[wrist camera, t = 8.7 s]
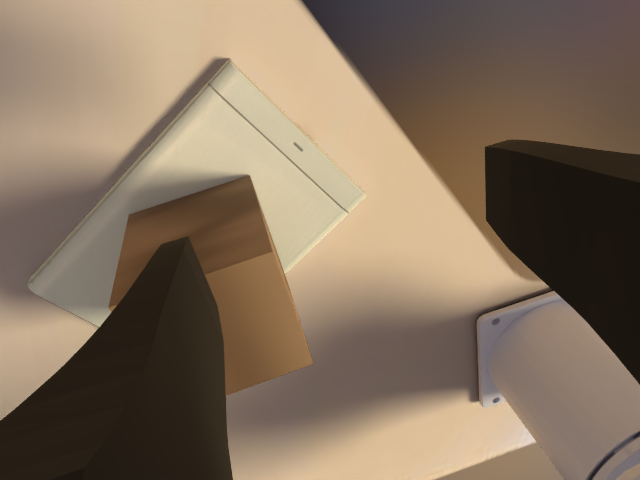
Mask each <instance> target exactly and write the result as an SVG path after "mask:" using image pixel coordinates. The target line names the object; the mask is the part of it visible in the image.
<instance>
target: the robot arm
mask: <svg viewBox="0 0 640 480" xmlns="http://www.w3.org/2000/svg"><path fill="white" fill-rule="evenodd" d="M485 179H486V220H487V222H488V223H489V225H490V226H491V227H492V228H493V230H494V231H495V232H496V234H497V235H498V236H499V237H500V239H501V240H502V241H503V243H504V244H505V245H506V246H507V247H508V249H509V250H510V251H511V252H513V253H514V254H515V255H516V256H517V257H518V258H519V259H520V260H521V261H522V262H523V263H524V264H525V265H526V266H527V267H528V268H530V269H531V270H532V271H533V272H534V273H535V274H536V275H537V276H538V277H539V278H540V279H541V280H543V281H544V282H545V283H546V284H547V285H548V286H549V287H550V288H551V289H552V290H554V291H552V292H549V293H546V294H543V295H540V296H537V297H534V298H531V299H528V300H525V301H522V302H519V303H516V304H513V305H510V306H507V307H504V308H501V309H498V310H495V311H492V312H489V313H486V314H484V315H482V316H480V317H479V319H478V320H477V347H478V377H479V402H480V404H481V405H482V407H484V408H488V407H492V406H494V405H497V404H500V403H503V402H505V401H507V402H508V404H509V405H510V406H511V408H512V409H513V410H514V412H515V413H516V415H517V416H518V417H519V419H520V420H521V421H522V423H523V424H524V425H525V427H526V428H527V430H528V431H529V432H530V434H531V435H532V436H533V438H534V439H535V440H536V442H537V443H538V445H539V446H540V447H541V449H542V450H543V451H544V452H545V454H546V455H547V456H548V458H549V460H550V461H551V462H552V464H553V465H554V466H555V468H556V469H557V470H558V472H559V473H560V475H561V476H562V477H563V478H564V480H640V155H637V154H628V153H619V152H611V151H603V150H596V149H589V148H582V147H575V146H568V145H560V144H553V143H546V142H538V141H528V140H506V141H503V142H500V143H497V144H493V145H490V146H487V147H485ZM0 480H233V477H232V470H231V463H230V456H229V449H228V438H227V423H226V391H225V360H224V340H223V334H222V328H221V322H220V317H219V311H218V306H217V303H216V301H215V298H214V296H213V294H212V291H211V289H210V286H209V284H208V282H207V279H206V277H205V275H204V272H203V270H202V267H201V265H200V263H199V260H198V258H197V256H196V253H195V251H194V248H193V246H192V244H191V241H190V239H189V237H188V236H187V237H183V238H180V239H177V240H174V241H170V242H167V243H164V244H161V245H160V247H159V248H158V249H157V250H156V252H155V253H154V255H153V256H152V257H151V259H150V260H149V262H148V263H147V265H146V266H145V268H144V269H143V271H142V272H141V273H140V275H139V276H138V278H137V279H136V280H135V282H134V283H133V285H132V286H131V288H130V289H129V290H128V292H127V293H126V295H125V296H124V297H123V298H122V300H121V301H120V302H119V303H118V305H117V306H116V307H115V308H114V310H113V311H112V312H111V313H110V315H109V316H108V317H107V319H106V320H105V321H104V322H103V324H102V325H101V326H100V327H99V328H98V330H97V331H96V332H95V333H94V334H93V335H92V336H91V338H90V339H89V340H88V341H87V342H86V343H85V344H84V345H83V346H82V347H81V348H80V349H79V350H78V351H77V352H76V353H75V354H74V355H73V357H72V358H71V359H70V360H69V361H68V362H67V363H66V364H65V365H64V366H63V367H62V368H61V369H59V370H58V371H57V372H56V373H55V374H54V375H53V376H52V377H51V378H50V379H48V380H47V381H46V382H45V383H44V384H43V385H42V386H41V387H39V388H38V389H37V390H36V391H35V392H34V393H33V394H32V395H30V396H29V397H28V398H27V399H26V400H25V401H24V402H23V403H21V404H20V405H19V406H18V407H17V408H16V409H14V410H13V411H12V412H11V413H10V414H8V415H7V416H6V417H4V418H3V419H2V420H1V421H0Z"/></svg>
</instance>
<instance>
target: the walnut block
mask: <svg viewBox="0 0 640 480" xmlns="http://www.w3.org/2000/svg"><path fill="white" fill-rule="evenodd" d="M187 236H188V237H189V239H190V241H191V244H192V246H193V248H194V251H195V253H196V256H197V258H198V260H199V263H200V265H201V267H202V270H203V272H204V275H205V277H206V279H207V282H208V284H209V286H210V289H211V291H212V294H213V296H214V298H215V301H216V303H217V306H218V311H219V317H220V322H221V328H222V334H223V340H224V360H225V391H226V395H229V394H231V393H234V392H237V391H240V390H242V389H245V388H248V387H251V386H253V385H256V384H259V383H262V382H264V381H267V380H270V379H273V378H275V377H278V376H281V375H284V374H286V373H289V372H292V371H295V370H297V369H300V368H303V367H306V366H308V365H311V364H313V361H312V358H311V355H310V352H309V349H308V346H307V343H306V339H305V336H304V333H303V330H302V327H301V324H300V321H299V317H298V314H297V311H296V308H295V305H294V302H293V298H292V295H291V292H290V289H289V286H288V283H287V280H286V276H285V273H284V270H283V267H282V265H281V262H280V259H279V256H278V253H277V250H276V248H275V245H274V242H273V239H272V236H271V233H270V231H269V228H268V225H267V222H266V219H265V217H264V214H263V211H262V208H261V205H260V202H259V200H258V197H257V194H256V191H255V188H254V185H253V183H252V180H251V177H250V175H248V176H245V177H242V178H239V179H236V180H233V181H230V182H227V183H224V184H221V185H218V186H215V187H212V188H209V189H206V190H202V191H199V192H196V193H193V194H190V195H187V196H184V197H181V198H178V199H175V200H172V201H169V202H166V203H163V204H160V205H157V206H154V207H151V208H147V209H144V210H141V211H138V212H135V213H132V214H129V216H128V221H127V225H126V230H125V234H124V239H123V243H122V248H121V252H120V257H119V261H118V266H117V270H116V275H115V279H114V284H113V289H112V293H111V298H110V302H109V307H108V308H109V310H110V311H111V312H112V311H113V310H114V308H115V307H116V306H117V305H118V303H119V302H120V301H121V300H122V298H123V297H124V296H125V295H126V293H127V292H128V290H129V289H130V288H131V286H132V285H133V283H134V282H135V280H136V279H137V278H138V276H139V275H140V273H141V272H142V271H143V269H144V268H145V266H146V265H147V263H148V262H149V260H150V259H151V257H152V256H153V255H154V253H155V252H156V250H157V249H158V248H159V247H160V245H161V244H164V243H167V242H170V241H174V240H177V239H180V238H183V237H187Z"/></svg>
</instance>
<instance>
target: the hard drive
mask: <svg viewBox="0 0 640 480" xmlns="http://www.w3.org/2000/svg"><path fill="white" fill-rule="evenodd" d="M248 175H250V177H251V180H252V183H253V185H254V188H255V191H256V194H257V197H258V200H259V202H260V205H261V208H262V211H263V214H264V217H265V219H266V222H267V225H268V228H269V231H270V233H271V236H272V239H273V242H274V245H275V248H276V250H277V253H278V256H279V259H280V262H281V265H282V267H283V270H284V273H285V274H286V273H287V272H288V271H289V270H290V269H291V268H292V267H293V266H294V265H295V264H296V263H297V262H298V261H299V260H300V259H301V258H303V257H304V256H305V255H306V254H307V253H308V252H309V251H310V250H311V249H312V248H313V247H314V246H315V245H316V244H317V243H318V242H319V241H320V240H321V239H322V238H323V237H325V236H326V235H327V234H328V233H329V232H330V231H331V230H332V229H333V228H334V227H335V226H336V225H337V224H338V223H339V222H340V221H341V220H342V219H343V218H345V217H346V216H347V215H348V213H349V212H350V211H352V210H353V209H354V208H355V207H356V206H357V205H358V204H359V203H360V202H361V201H362V200H363V199H364V198H365V197H366V196H367V195H366V193H365V191H364V190H363V189H362V188H361V187H360V186H359V185H358V184H357V183H356V182H355V181H354V180H353V179H352V178H351V177H350V176H349V175H347V174H346V173H345V172H344V171H343V170H342V169H341V168H340V167H339V166H338V165H337V164H336V163H335V162H334V161H333V160H332V159H331V158H330V157H329V156H328V155H327V154H326V153H325V152H324V151H323V150H322V149H321V148H320V147H319V146H318V145H317V144H316V143H314V142H313V141H312V140H311V139H310V138H309V137H308V136H307V135H306V134H305V133H304V132H303V131H302V130H301V129H300V128H299V127H298V126H297V125H296V124H295V123H294V122H293V121H292V119H291V118H290V117H289V116H288V115H287V114H286V113H285V112H284V111H283V110H282V109H281V108H280V107H279V106H278V105H277V104H276V103H275V102H274V101H273V100H272V99H271V98H270V97H268V96H267V95H266V94H265V93H264V92H263V91H262V90H261V89H260V88H259V87H258V86H257V85H256V84H255V83H254V82H253V81H252V80H251V79H250V78H249V77H248V76H247V75H246V74H245V73H244V72H243V71H242V70H241V69H240V68H239V67H238V66H237V65H236V64H235V63H234V62H233V61H232V60H231V59H228V60H227V61H226V62H225V63H224V64H223V66H222V67H221V68H220V69H219V70H218V71H217V72H216V73H215V74H214V76H213V77H212V78H211V79H210V80H209V81H208V82H207V83H206V84H205V85H204V86H203V88H202V89H201V90H200V91H199V92H198V93H197V94H196V95H195V96H194V97H193V99H192V100H191V101H190V102H189V103H188V104H187V105H186V106H185V107H184V108H183V109H182V111H181V112H180V113H179V114H178V115H177V116H176V117H175V118H174V119H173V120H172V121H171V123H170V124H169V125H168V126H167V127H166V128H165V129H164V130H163V131H162V133H161V134H160V135H159V136H158V137H157V138H156V139H155V140H154V141H153V142H152V144H151V145H150V146H149V147H148V148H147V149H146V150H145V151H144V152H143V154H142V155H141V156H140V157H139V158H138V159H137V160H136V161H135V162H134V163H133V165H132V166H131V167H130V168H129V169H128V170H127V171H126V172H125V173H124V174H123V176H122V177H121V178H120V179H119V180H118V181H117V182H116V183H115V185H114V186H113V187H112V188H111V189H110V190H109V191H108V192H107V194H106V195H105V196H104V197H103V198H102V199H101V200H100V201H99V202H98V203H97V205H96V206H95V207H94V208H93V209H92V210H91V211H90V212H89V213H88V214H87V216H86V217H85V218H84V219H83V220H82V221H81V222H80V223H79V224H78V225H77V227H76V228H75V229H74V230H73V231H72V232H71V233H70V234H69V235H68V237H67V238H66V239H65V240H64V241H63V242H62V243H61V244H60V245H59V247H58V248H57V249H56V250H55V251H54V252H53V253H52V254H51V255H50V257H49V258H48V259H47V260H46V261H45V262H44V263H43V264H42V265H41V267H40V268H39V269H38V270H37V271H36V272H35V273H34V274H33V275H32V277H31V278H30V279H29V281H28V284H27V287H28V289H29V290H30V291H32V292H33V293H34V294H36V295H38V296H39V297H41V298H43V299H45V300H47V301H49V302H51V303H53V304H55V305H57V306H59V307H61V308H63V309H65V310H67V311H68V312H70V313H72V314H74V315H76V316H78V317H80V318H82V319H84V320H86V321H88V322H91V323H92V324H94V325H96V326H98V327H100V326H101V325H102V324H103V322H104V321H105V320H106V319H107V317H108V316H109V315H110V313H111V311H110V310H109V308H108V307H109V302H110V298H111V293H112V289H113V284H114V279H115V275H116V270H117V266H118V261H119V257H120V252H121V248H122V243H123V239H124V234H125V230H126V225H127V221H128V216H129V214H132V213H135V212H138V211H141V210H144V209H147V208H151V207H154V206H157V205H160V204H163V203H166V202H169V201H172V200H175V199H178V198H181V197H184V196H187V195H190V194H193V193H196V192H199V191H202V190H206V189H209V188H212V187H215V186H218V185H221V184H224V183H227V182H230V181H233V180H236V179H239V178H242V177H245V176H248Z"/></svg>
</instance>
